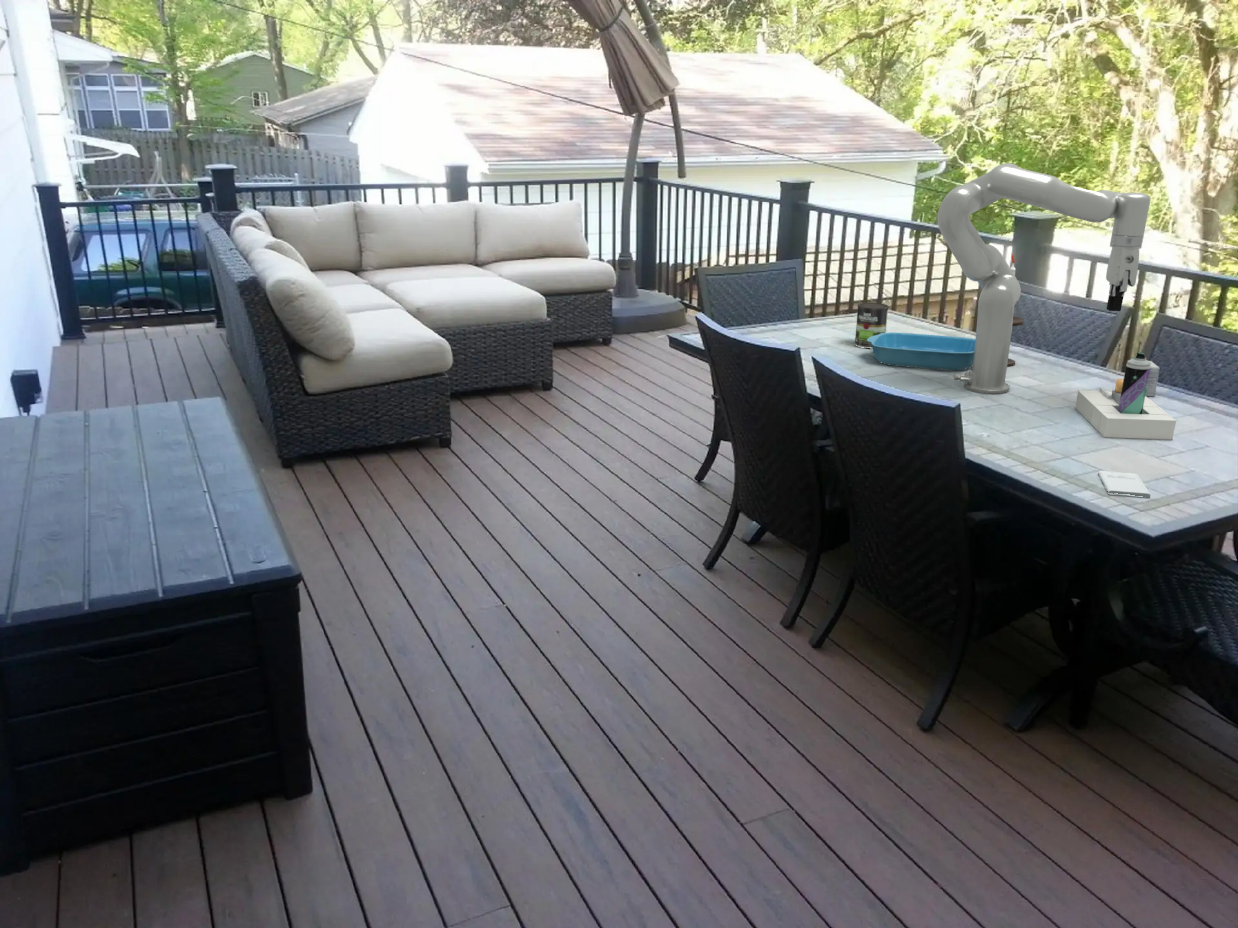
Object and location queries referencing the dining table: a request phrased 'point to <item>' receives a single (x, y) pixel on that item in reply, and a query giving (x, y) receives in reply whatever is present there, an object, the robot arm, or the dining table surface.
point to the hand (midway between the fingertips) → (1113, 310)
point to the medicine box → (1152, 380)
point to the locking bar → (1117, 390)
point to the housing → (1124, 417)
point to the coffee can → (870, 322)
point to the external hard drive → (1123, 483)
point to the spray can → (1134, 385)
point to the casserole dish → (923, 350)
